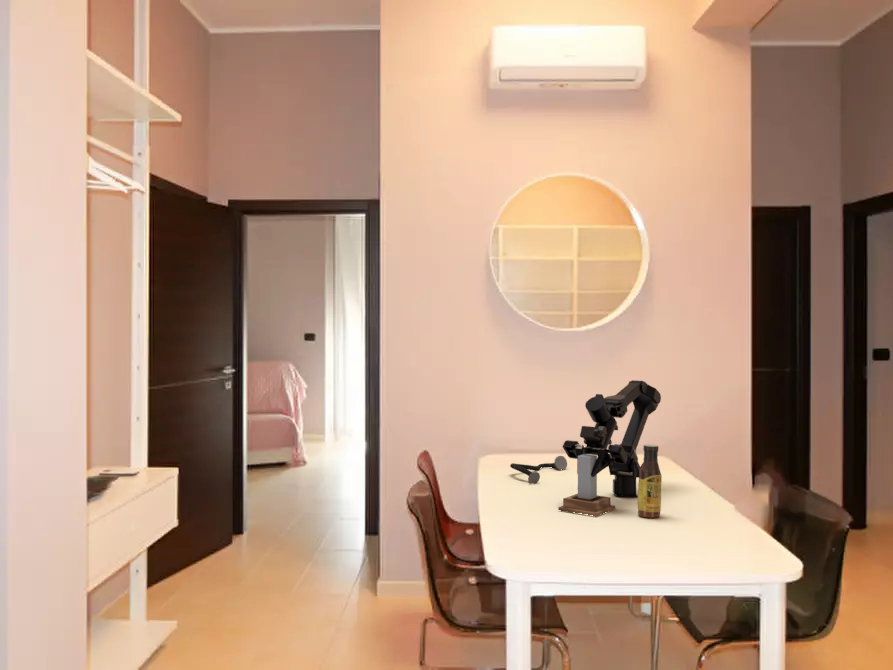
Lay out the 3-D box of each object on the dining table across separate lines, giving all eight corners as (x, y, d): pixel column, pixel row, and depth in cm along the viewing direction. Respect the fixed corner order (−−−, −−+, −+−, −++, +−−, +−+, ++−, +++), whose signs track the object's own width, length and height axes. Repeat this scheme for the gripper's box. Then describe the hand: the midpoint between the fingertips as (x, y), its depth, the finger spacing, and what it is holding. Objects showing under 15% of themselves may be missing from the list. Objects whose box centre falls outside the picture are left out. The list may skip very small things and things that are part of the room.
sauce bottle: (648, 519, 213) (648, 447, 213) (632, 515, 219) (633, 444, 219) (666, 517, 216) (666, 446, 216) (650, 512, 222) (650, 443, 222)
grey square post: (584, 495, 228) (584, 454, 227) (596, 496, 225) (596, 455, 225) (577, 497, 224) (577, 456, 224) (590, 499, 222) (590, 457, 222)
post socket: (578, 503, 233) (578, 491, 233) (615, 509, 226) (615, 497, 226) (558, 510, 224) (558, 498, 224) (596, 517, 216) (596, 504, 216)
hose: (536, 485, 261) (536, 469, 261) (497, 481, 267) (497, 465, 267) (568, 470, 291) (568, 455, 291) (532, 466, 297) (532, 452, 297)
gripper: (565, 413, 233) (546, 454, 225) (623, 417, 222) (605, 461, 213) (578, 436, 240) (560, 477, 231) (634, 442, 228) (618, 485, 220)
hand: (585, 475), depth 224 cm, fingers closed on grey square post, 4 cm apart
